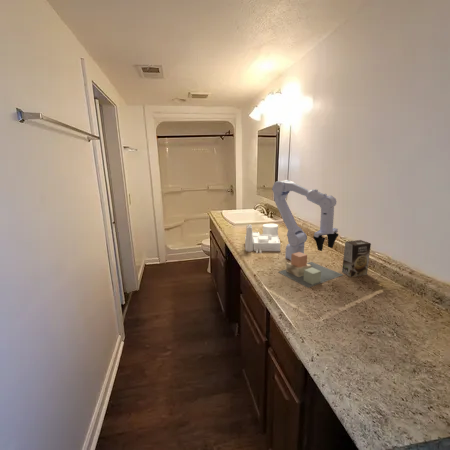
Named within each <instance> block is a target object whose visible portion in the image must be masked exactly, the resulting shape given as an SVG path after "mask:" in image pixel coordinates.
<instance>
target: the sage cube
mask: <svg viewBox="0 0 450 450" xmlns="http://www.w3.org/2000/svg"><path fill="white" fill-rule="evenodd" d="M320 279H321V271H319V270H317V269H315V268H308V269H305V270H304V281H306V282H308V283H310V284H312V285H313V284H316V283H318V282H320Z"/></svg>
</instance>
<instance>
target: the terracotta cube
mask: <svg viewBox="0 0 450 450" xmlns="http://www.w3.org/2000/svg"><path fill="white" fill-rule="evenodd" d="M290 262H291V264H293V265H295V266H297V267H302V266H305V265H307V263H308V254H306V253H305V252H304V253H301V252H297V253H293V254H292V256H291V260H290Z"/></svg>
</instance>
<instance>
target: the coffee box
mask: <svg viewBox="0 0 450 450" xmlns="http://www.w3.org/2000/svg"><path fill="white" fill-rule="evenodd" d="M371 245H372V244H371V242H367V241H365V240H362V239H358V240H348V241H345V242H344V250H343V259H342V268H341V272H342V273H343V274H345V275H347V276H348V277H350V278H354V277H360V276H367V275H368V270H369V263H370V253H371Z"/></svg>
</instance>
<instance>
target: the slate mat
mask: <svg viewBox="0 0 450 450" xmlns="http://www.w3.org/2000/svg"><path fill="white" fill-rule="evenodd" d="M307 264H310V265H311V268H315V269H317V270H319V271H321V279H320V282H318V283H316V284H313V285H312V284H310V283H308V282H306V281H304V276H301V277H297V276H295V275H293V274H291V273H289V272H287V271H286V269H282V270H279V271H278V274H281V275H282V276H285V277H287V278H288V279H290V280H292V281H295V282H296V283H299V284H300V285H302V286H304V287H305V288H308V289H309V288H312V287H314V286H317V285H320V284H323V283H326V282H328V281H330V280H334V279H337V278H340V277H342V276H344V273H343V274H342V273H340V272H337V271H335V270H333V269H330V268H328V267H326V266H323V265H320V264H318V263H315V262H313V261H309V262H307Z"/></svg>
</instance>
